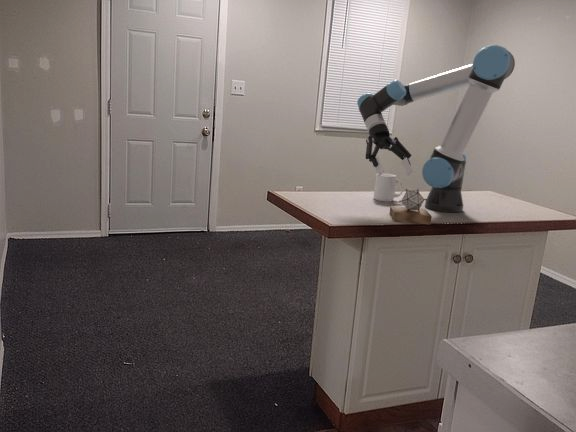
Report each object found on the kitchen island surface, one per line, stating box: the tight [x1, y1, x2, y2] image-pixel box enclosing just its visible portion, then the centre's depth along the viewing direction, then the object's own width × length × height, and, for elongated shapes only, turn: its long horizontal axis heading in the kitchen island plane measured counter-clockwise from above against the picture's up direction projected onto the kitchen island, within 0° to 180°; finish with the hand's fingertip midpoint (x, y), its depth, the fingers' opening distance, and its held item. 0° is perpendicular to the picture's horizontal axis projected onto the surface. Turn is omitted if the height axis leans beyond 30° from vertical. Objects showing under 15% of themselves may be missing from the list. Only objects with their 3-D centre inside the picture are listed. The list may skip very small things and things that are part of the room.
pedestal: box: [388, 205, 433, 225], centre depth 192 cm, size 13×12×3 cm
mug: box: [373, 172, 404, 202], centre depth 224 cm, size 9×12×11 cm
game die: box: [398, 188, 427, 212], centre depth 191 cm, size 9×8×10 cm
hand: (395, 173), depth 198 cm, fingers open, 13 cm apart
